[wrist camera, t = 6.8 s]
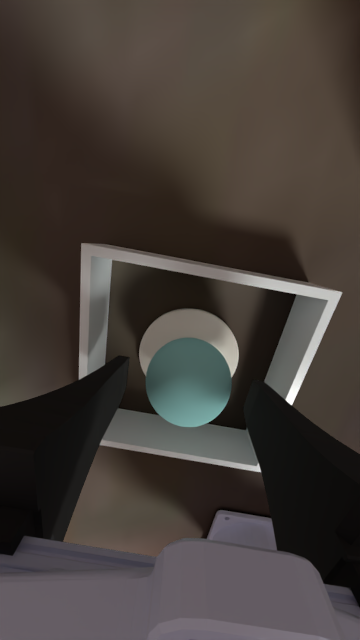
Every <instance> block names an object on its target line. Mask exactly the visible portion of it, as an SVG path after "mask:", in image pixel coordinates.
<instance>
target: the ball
mask: <svg viewBox="0 0 360 640" xmlns="http://www.w3.org/2000/svg"><path fill="white" fill-rule="evenodd" d="M231 387H232V379H231V372H230V369H229V366H228V363H227V362H226V360H225V358H224V356H223V355H222V354H221V353H220V352H219V351H218V350H217V349H216V348H215V347H214V346H213V345H211V344H210V343H208V342H206V341H204V340H201V339H197V338H179V339H176V340H173V341H170V342H169V343H167V344H165V345H164V346H162V347H161V348H160V349H159V350H158V351H157V352H156V353H155V355H154V356H153V358H152V359H151V361H150V363H149V366H148V369H147V372H146V391H147V395H148V398H149V401H150V403H151V404H152V406H153V408H154V409H155V411H156V412H157V413H158V414H159V415H160V416H161V417H162V418H164V419H165V420H166V421H168V422H170V423H172V424H174V425H177V426H181V427H197V426H201V425H204V424H206V423H208V422H210V421H212V420H213V419H214V418H216V417H217V416H218V415H219V414H220V413H221V412H222V410H223V409H224V408H225V406H226V404H227V402H228V400H229V397H230V394H231Z"/></svg>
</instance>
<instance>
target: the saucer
mask: <svg viewBox="0 0 360 640" xmlns="http://www.w3.org/2000/svg"><path fill="white" fill-rule="evenodd" d="M179 338H197V339H201V340H204V341H206V342H208V343H210V344H211V345H213V346H214V347H215V348H216V349H217V350H218V351H219V352H220V353H221V354H222V355H223V356H224V358H225V360H226V362H227V363H228V366H229V369H230V372H231V378H232V376H233V374H234V373H235V370H236V368H237V364H238V358H239V351H238V345H237V342H236V339H235V337H234V335H233V333H232V331H231V330H230V328H229V327H228V326H227V324H226V323H225V322H224V321H223V320H221V319H220V318H219V317H217V316H216V315H214V314H212V313H210V312H207V311H204V310H201V309H195V308H182V309H176V310H173V311H170V312H167V313H165V314H163V315H162V316H160V317H158V318H157V319H156V320H155V321H154V322H153V323H152V324H151V325H150V326H149V327H148V329H147V330H146V332H145V334H144V336H143V338H142V341H141V343H140V348H139V360H140V364H141V368H142V370H143V372H144V374H145V376H146V372H147V369H148V366H149V363H150V361H151V359H152V358H153V356H154V355H155V353H156V352H157V351H158V350H159V349H160V348H161V347H162V346H164V345H165V344H167V343H169V342H170V341H173V340H176V339H179Z"/></svg>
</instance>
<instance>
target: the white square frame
mask: <svg viewBox="0 0 360 640" xmlns="http://www.w3.org/2000/svg"><path fill="white" fill-rule="evenodd" d="M112 260H117V261H122V262H127V263H133V264H138V265H143V266H149V267H154V268H159V269H165V270H170V271H175V272H181V273H186V274H191V275H197V276H202V277H207V278H213V279H218V280H223V281H229V282H234V283H239V284H245V285H250V286H255V287H260V288H266V289H271V290H276V291H282V292H287V293H292V294H297V295H296V298H295V300H294V303H293V306H292V308H291V311H290V314H289V316H288V319H287V322H286V324H285V327H284V330H283V332H282V335H281V338H280V340H279V343H278V346H277V348H276V351H275V354H274V356H273V359H272V362H271V364H270V367H269V370H268V372H267V375H266V378H265V380H264V382H265V383H266V384H267V385H269V386H270V387H271V388H272V389H273V390H275V391H276V392H277V393H278V394H279V395H280V396H281V397H282V398H284V399H285V400H286V401H287V402H288V403H289V404H290V405H292V404H293V402H294V399H295V397H296V395H297V393H298V390H299V388H300V386H301V384H302V381H303V379H304V377H305V375H306V373H307V370H308V368H309V366H310V364H311V361H312V359H313V357H314V355H315V352H316V350H317V348H318V346H319V343H320V341H321V339H322V337H323V335H324V332H325V330H326V328H327V326H328V323H329V321H330V319H331V317H332V314H333V312H334V310H335V308H336V306H337V303H338V301H339V299H340V297H341V294H342V292H339V291H336V290H332V289H329V288H326V287H322V286H319V285H315V284H312V283H308V282H303V281H298V280H292V279H287V278H282V277H277V276H271V275H266V274H261V273H256V272H250V271H245V270H240V269H234V268H229V267H224V266H219V265H213V264H208V263H203V262H197V261H192V260H187V259H182V258H176V257H171V256H166V255H160V254H155V253H150V252H145V251H139V250H134V249H129V248H124V247H118V246H113V245H108V244H92V243H81V285H80V338H79V379H81V378H83V377H85V376H87V375H89V374H90V373H92V372H94V371H96V370H97V369H99V368H100V367H102V366H104V365H105V357H106V343H107V328H108V313H109V298H110V283H111V268H112ZM100 445H103V446H109V447H115V448H121V449H127V450H133V451H139V452H144V453H150V454H156V455H162V456H168V457H174V458H180V459H186V460H192V461H197V462H203V463H209V464H215V465H221V466H227V467H233V468H239V469H244V470H250V471H256V472H261V470H260V466H259V463H258V460H257V457H256V454H255V451H254V448H253V445H252V442H251V439H250V435H249V432H248V429H246V430H241V429H235V428H229V427H223V426H218V425H212V424H204V425H201V426H197V427H181V426H177V425H174V424H172V423H170V422H168V421H166V420H165V419H164V418H162V417H161V416H160V415H154V414H149V413H143V412H137V411H131V410H126V409H120V408H118V409H117V411H116V413H115V415H114V417H113V419H112V421H111V423H110V424H109V426H108V428H107V430H106V432H105V434H104V436H103V438H102V440H101V442H100Z"/></svg>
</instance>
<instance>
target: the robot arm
mask: <svg viewBox="0 0 360 640" xmlns="http://www.w3.org/2000/svg"><path fill="white" fill-rule="evenodd" d="M128 366H129V357H124V356H117V357H116V358H114V359H113V360H111V361H110V362H108V363H107V364H105V365H104V366H102V367H100V368H99V369H97V370H96V371H94V372H92V373H90V374H89V375H87V376H85V377H83V378H81V379H79V380H78V381H75V382H73V383H71V384H69V385H67V386H65V387H62V388H60V389H57V390H55V391H52V392H49V393H47V394H44V395H41V396H38V397H35V398H32V399H29V400H25V401H22V402H18V403H15V404H11V405H7V406H3V407H0V640H360V454H359V453H357V452H355V451H354V450H352V449H350V448H349V447H347V446H346V445H344V444H342V443H341V442H339V441H338V440H336V439H335V438H333V437H332V436H330V435H329V434H328V433H326V432H325V431H323V430H322V429H321V428H319V427H318V426H316V425H315V424H314V423H312V422H311V421H310V420H309V419H307V418H306V417H305V416H304V415H302V414H301V413H300V412H299V411H298V410H296V409H295V408H294V407H293V406H292V405H290V404H289V403H288V402H287V401H286V400H285V399H284V398H282V397H281V396H280V395H279V394H278V393H277V392H276V391H275V390H273V389H272V388H271V387H270V386H269V385H267V384H266V383H265V382H263V381H258V380H253V381H252V384H251V387H250V390H249V392H248V395H247V398H246V401H245V404H244V407H243V410H244V416H245V421H246V426H247V429H248V432H249V435H250V439H251V442H252V445H253V448H254V451H255V454H256V457H257V460H258V463H259V466H260V470H261V473H262V477H263V481H264V486H265V490H266V494H267V499H268V504H269V509H270V514H271V518H267V517H261V516H255V515H249V514H243V513H237V512H231V511H225V510H219V511H217V513H216V515H215V518H214V520H213V523H212V526H211V528H210V531H209V534H208V536H207V539H203V538H183V539H180V540H177V541H175V542H172V543H169V544H168V545H167V546H166V547H165V548H164V549H163V550H162V551H161V553H160V554H159V555H158V557H154V556H147V555H141V554H135V553H129V552H122V551H116V550H110V549H104V548H97V547H91V546H85V545H79V544H72V543H66V542H63V540H64V537H65V534H66V531H67V528H68V526H69V523H70V520H71V517H72V514H73V512H74V509H75V506H76V504H77V501H78V498H79V496H80V493H81V490H82V487H83V485H84V482H85V480H86V477H87V474H88V472H89V469H90V467H91V464H92V462H93V459H94V457H95V454H96V452H97V449H98V447H99V445H100V442H101V440H102V438H103V436H104V434H105V432H106V430H107V428H108V426H109V424H110V423H111V421H112V419H113V417H114V415H115V413H116V411H117V409H118V407H119V405H120V403H121V400H122V397H123V395H124V392H125V389H126V384H127V375H128Z"/></svg>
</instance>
